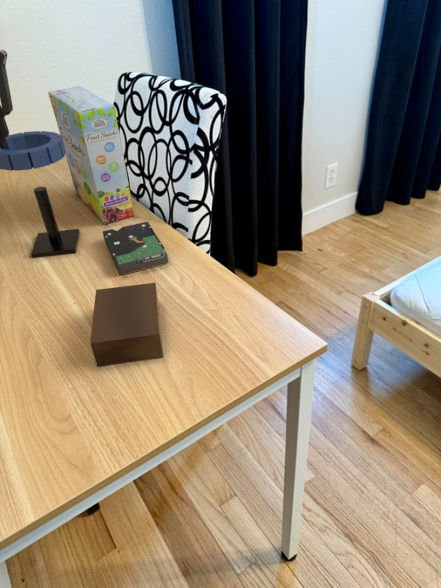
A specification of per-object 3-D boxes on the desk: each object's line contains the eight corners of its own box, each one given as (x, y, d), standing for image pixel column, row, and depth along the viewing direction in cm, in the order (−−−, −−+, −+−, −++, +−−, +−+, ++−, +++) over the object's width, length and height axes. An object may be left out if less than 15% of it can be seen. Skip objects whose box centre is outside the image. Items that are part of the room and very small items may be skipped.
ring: (-15, 173, 76) (-22, 156, 74) (2, 149, 86) (-3, 133, 84) (60, 167, 77) (56, 150, 75) (69, 144, 88) (65, 128, 86)
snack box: (72, 194, 114) (45, 90, 98) (103, 186, 118) (82, 84, 102) (102, 226, 100) (76, 110, 84) (136, 216, 103) (118, 102, 87)
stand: (97, 366, 65) (90, 342, 62) (101, 312, 75) (95, 289, 72) (163, 357, 66) (159, 333, 63) (159, 305, 76) (155, 282, 73)
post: (31, 258, 90) (11, 200, 82) (39, 236, 97) (21, 182, 89) (75, 253, 91) (60, 196, 83) (79, 232, 98) (65, 178, 90)
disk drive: (103, 242, 94) (119, 276, 83) (101, 231, 93) (116, 264, 82) (149, 231, 97) (170, 263, 86) (147, 220, 96) (168, 251, 85)
